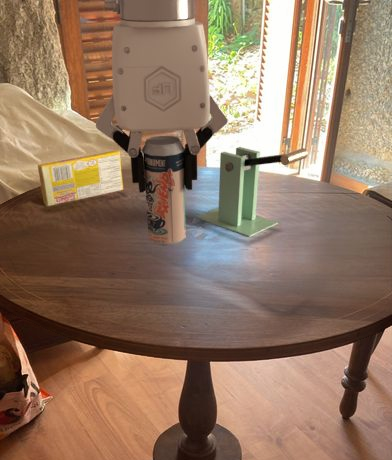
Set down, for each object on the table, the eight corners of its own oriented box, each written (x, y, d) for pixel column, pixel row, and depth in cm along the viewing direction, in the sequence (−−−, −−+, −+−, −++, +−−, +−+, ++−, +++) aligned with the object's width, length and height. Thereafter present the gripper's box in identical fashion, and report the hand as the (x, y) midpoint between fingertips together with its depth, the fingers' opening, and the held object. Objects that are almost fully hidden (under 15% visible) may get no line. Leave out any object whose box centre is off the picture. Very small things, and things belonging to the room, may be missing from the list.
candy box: (118, 191, 114) (116, 149, 110) (124, 194, 113) (121, 152, 108) (43, 208, 107) (36, 163, 102) (48, 211, 105) (41, 166, 100)
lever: (308, 160, 88) (306, 144, 87) (290, 167, 85) (287, 151, 84) (244, 168, 97) (241, 153, 96) (225, 174, 94) (222, 159, 93)
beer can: (140, 238, 71) (133, 139, 64) (170, 229, 74) (166, 132, 67) (163, 251, 68) (158, 148, 61) (194, 240, 70) (192, 140, 64)
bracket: (277, 229, 100) (284, 154, 92) (248, 242, 95) (254, 165, 88) (225, 211, 106) (228, 140, 99) (196, 222, 101) (197, 149, 94)
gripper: (68, 12, 53) (91, 202, 63) (248, 8, 54) (241, 194, 65) (73, 6, 59) (93, 180, 69) (234, 3, 60) (230, 174, 71)
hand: (164, 185), depth 67 cm, fingers closed on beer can, 4 cm apart
